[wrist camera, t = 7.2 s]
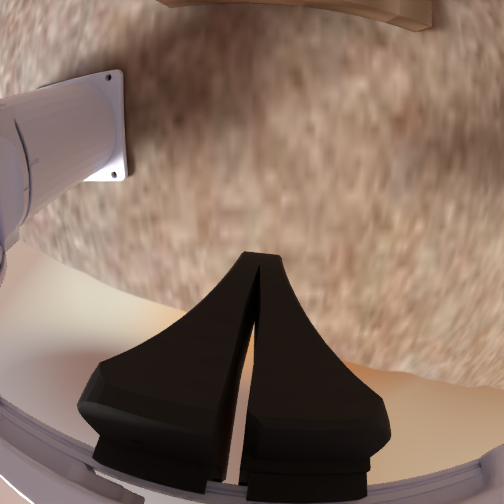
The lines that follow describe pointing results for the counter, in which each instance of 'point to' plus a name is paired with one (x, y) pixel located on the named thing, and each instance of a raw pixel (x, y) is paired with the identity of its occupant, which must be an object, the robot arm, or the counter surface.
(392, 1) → the launcher
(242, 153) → the counter surface
